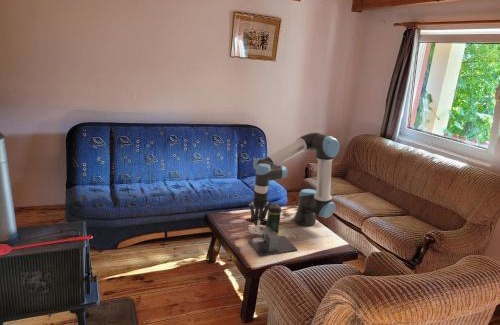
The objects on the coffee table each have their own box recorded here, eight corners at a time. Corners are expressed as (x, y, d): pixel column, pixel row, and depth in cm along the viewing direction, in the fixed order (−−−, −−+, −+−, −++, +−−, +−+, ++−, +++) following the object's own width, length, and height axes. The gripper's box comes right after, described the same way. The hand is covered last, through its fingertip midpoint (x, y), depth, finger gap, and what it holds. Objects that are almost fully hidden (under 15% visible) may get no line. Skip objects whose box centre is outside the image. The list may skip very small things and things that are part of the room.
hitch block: (283, 237, 222) (285, 220, 219) (297, 250, 208) (299, 233, 204) (248, 241, 213) (250, 224, 210) (259, 256, 198) (261, 238, 195)
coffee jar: (279, 235, 224) (282, 208, 219) (266, 234, 223) (269, 207, 218) (277, 228, 233) (280, 202, 228) (265, 227, 233) (267, 201, 227)
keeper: (261, 231, 208) (262, 229, 208) (266, 236, 203) (267, 234, 202) (247, 228, 204) (248, 226, 203) (251, 234, 198) (252, 231, 198)
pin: (273, 240, 213) (274, 231, 211) (278, 245, 208) (279, 235, 206) (250, 243, 207) (251, 234, 206) (254, 248, 202) (255, 239, 200)
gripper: (268, 188, 202) (264, 225, 208) (247, 189, 197) (244, 228, 203) (274, 193, 195) (270, 231, 202) (252, 194, 190) (249, 234, 197)
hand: (257, 229), depth 203 cm, fingers closed
